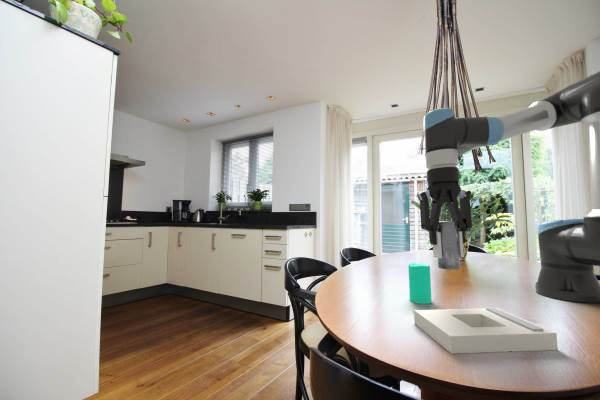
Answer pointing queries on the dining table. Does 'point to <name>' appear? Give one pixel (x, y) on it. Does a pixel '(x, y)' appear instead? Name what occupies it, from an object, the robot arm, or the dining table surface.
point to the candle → (420, 283)
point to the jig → (483, 331)
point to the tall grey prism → (449, 245)
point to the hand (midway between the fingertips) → (448, 256)
